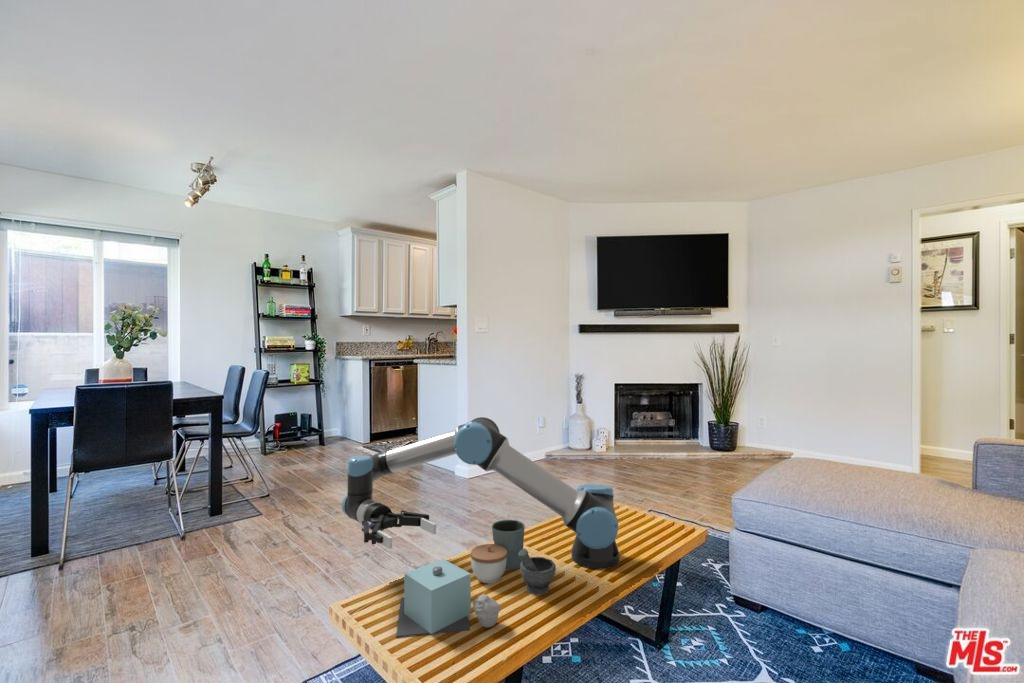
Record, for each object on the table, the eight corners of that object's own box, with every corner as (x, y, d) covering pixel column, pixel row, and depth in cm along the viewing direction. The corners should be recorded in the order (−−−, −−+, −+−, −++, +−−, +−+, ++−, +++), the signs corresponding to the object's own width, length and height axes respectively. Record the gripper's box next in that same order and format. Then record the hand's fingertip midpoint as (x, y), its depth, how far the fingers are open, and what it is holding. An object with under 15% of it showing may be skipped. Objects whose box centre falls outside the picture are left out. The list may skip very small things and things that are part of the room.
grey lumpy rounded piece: (476, 616, 116) (476, 588, 116) (504, 620, 114) (503, 591, 114) (469, 631, 110) (469, 601, 110) (497, 635, 108) (497, 604, 108)
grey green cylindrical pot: (530, 561, 146) (530, 523, 146) (513, 574, 137) (512, 533, 138) (504, 554, 151) (504, 517, 152) (485, 566, 143) (485, 526, 143)
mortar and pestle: (541, 577, 135) (541, 536, 136) (562, 591, 128) (562, 547, 128) (509, 588, 129) (509, 545, 129) (529, 603, 121) (529, 557, 122)
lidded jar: (474, 589, 129) (474, 555, 129) (467, 572, 139) (467, 540, 139) (511, 584, 132) (511, 551, 132) (502, 567, 142) (502, 536, 142)
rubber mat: (464, 593, 127) (464, 591, 127) (469, 630, 110) (469, 628, 110) (401, 599, 124) (401, 597, 124) (396, 637, 107) (396, 635, 107)
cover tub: (442, 596, 124) (442, 554, 125) (470, 613, 116) (470, 568, 116) (404, 613, 116) (404, 568, 116) (431, 634, 108) (431, 585, 108)
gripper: (410, 517, 147) (451, 537, 132) (333, 539, 130) (370, 564, 115) (411, 494, 147) (451, 510, 132) (334, 512, 130) (370, 534, 115)
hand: (413, 536), depth 123 cm, fingers open, 13 cm apart
